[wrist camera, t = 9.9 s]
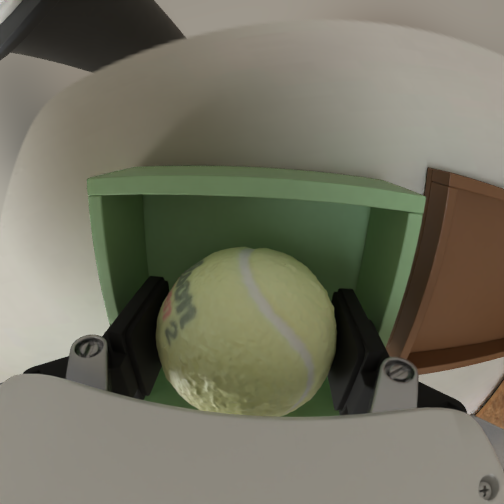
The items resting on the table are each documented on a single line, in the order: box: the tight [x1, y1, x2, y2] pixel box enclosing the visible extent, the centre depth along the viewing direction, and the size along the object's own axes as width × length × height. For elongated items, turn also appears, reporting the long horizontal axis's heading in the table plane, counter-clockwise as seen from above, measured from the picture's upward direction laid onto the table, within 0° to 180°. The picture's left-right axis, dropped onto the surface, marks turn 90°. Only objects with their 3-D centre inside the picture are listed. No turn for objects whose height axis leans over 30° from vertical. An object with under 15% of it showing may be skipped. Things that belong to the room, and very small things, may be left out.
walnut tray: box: [385, 168, 504, 375], centre depth 12 cm, size 11×13×2 cm
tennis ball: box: [156, 247, 337, 417], centre depth 10 cm, size 6×7×7 cm
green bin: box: [87, 166, 426, 417], centre depth 12 cm, size 11×11×4 cm
